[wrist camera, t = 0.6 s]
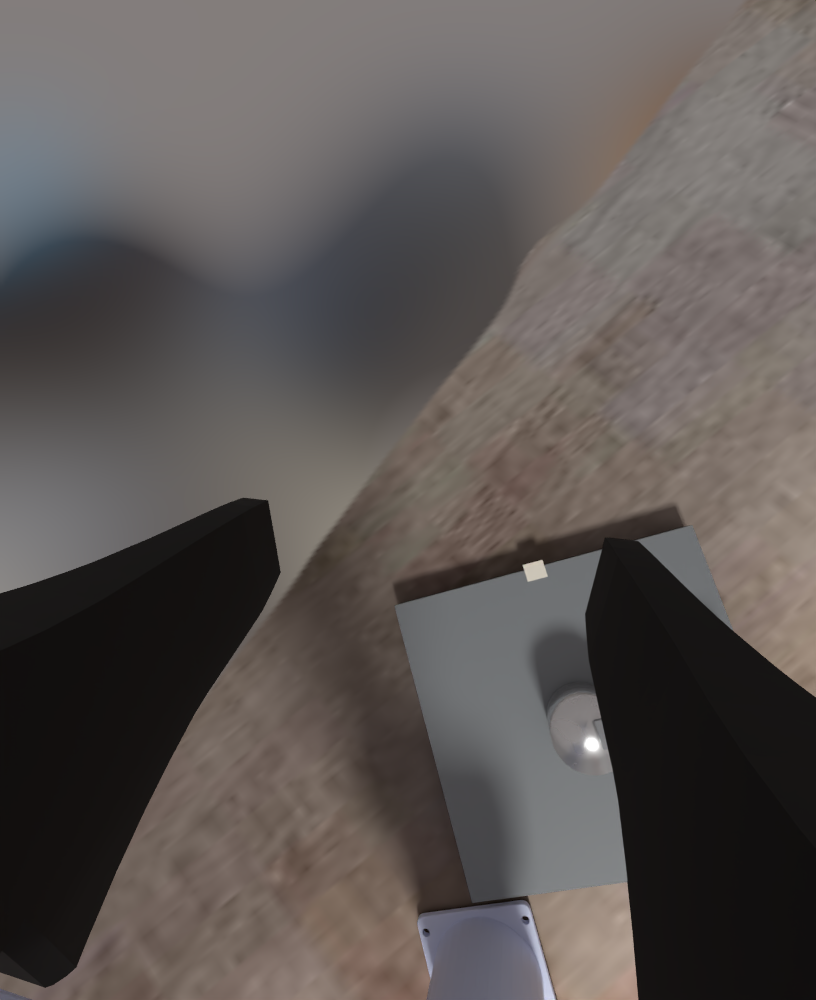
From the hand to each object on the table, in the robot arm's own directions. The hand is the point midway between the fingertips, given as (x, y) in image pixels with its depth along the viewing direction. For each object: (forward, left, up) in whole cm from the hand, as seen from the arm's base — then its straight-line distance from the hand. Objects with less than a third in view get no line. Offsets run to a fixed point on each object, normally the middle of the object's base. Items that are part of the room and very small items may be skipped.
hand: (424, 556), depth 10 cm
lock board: (-12, -3, -25) cm, 28 cm away
